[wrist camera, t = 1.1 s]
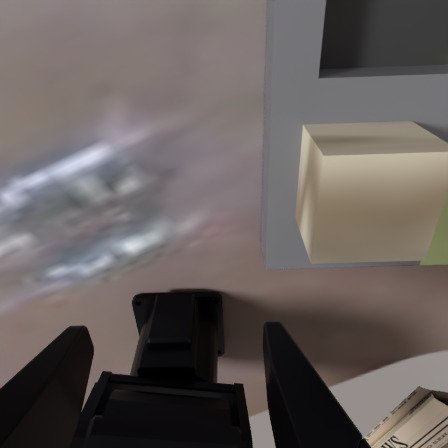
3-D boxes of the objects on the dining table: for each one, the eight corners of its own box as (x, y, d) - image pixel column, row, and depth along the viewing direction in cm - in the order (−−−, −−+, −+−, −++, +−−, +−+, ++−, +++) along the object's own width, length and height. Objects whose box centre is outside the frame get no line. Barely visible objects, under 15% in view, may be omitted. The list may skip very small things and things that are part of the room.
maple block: (389, 214, 19) (425, 260, 16) (295, 217, 19) (310, 263, 16) (411, 121, 16) (461, 151, 13) (303, 124, 16) (323, 156, 13)
